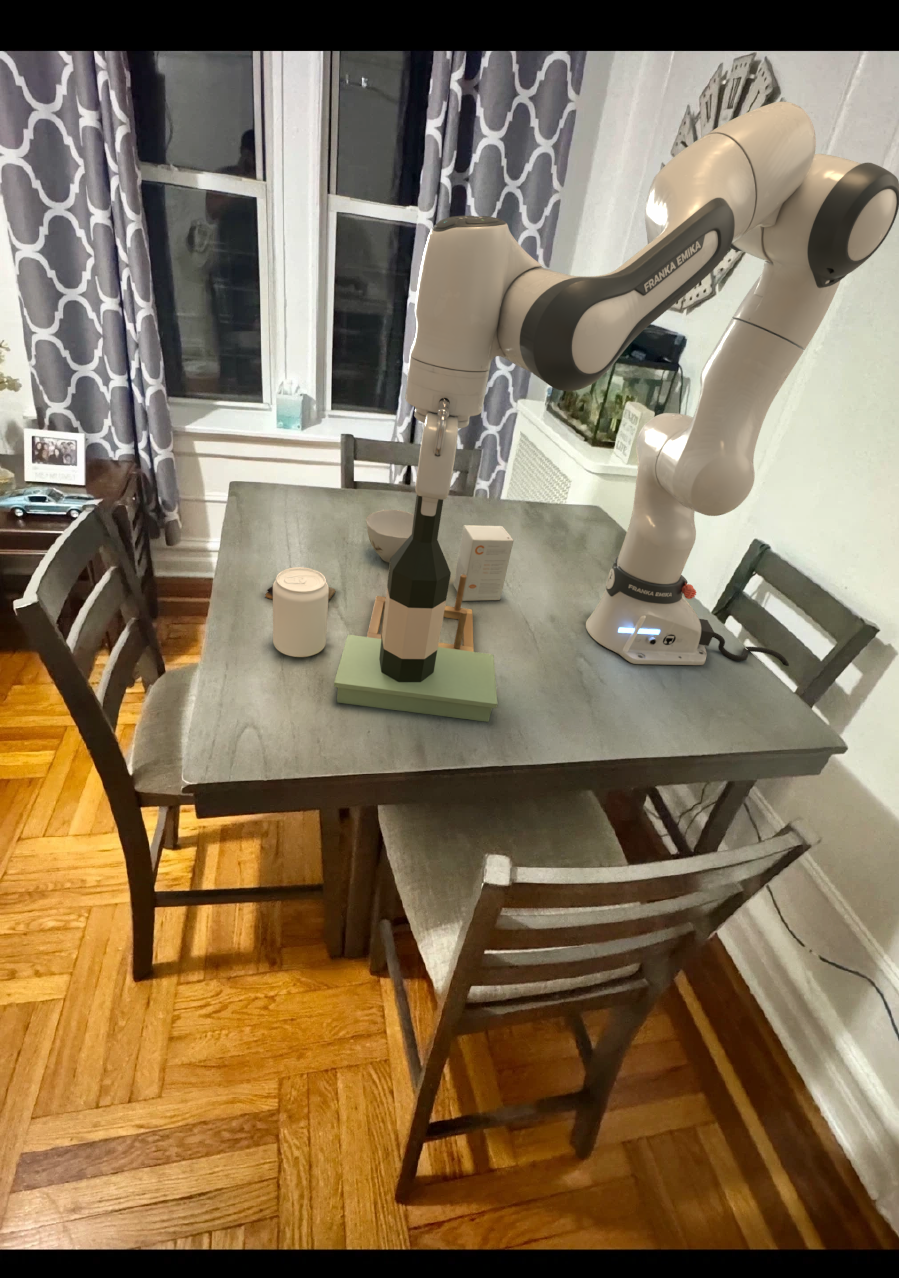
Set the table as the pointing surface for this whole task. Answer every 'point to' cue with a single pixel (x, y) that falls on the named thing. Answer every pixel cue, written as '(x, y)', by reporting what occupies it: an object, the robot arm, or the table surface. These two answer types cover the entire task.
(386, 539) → the teacup
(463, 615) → the dish rack
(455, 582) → the small box
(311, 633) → the beverage can
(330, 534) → the table surface
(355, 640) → the green low rectangular block
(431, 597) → the wine bottle
